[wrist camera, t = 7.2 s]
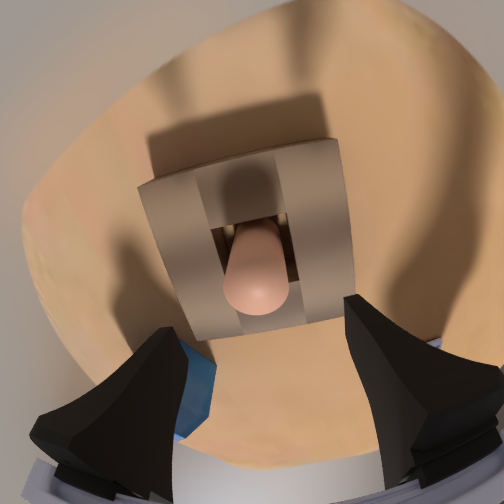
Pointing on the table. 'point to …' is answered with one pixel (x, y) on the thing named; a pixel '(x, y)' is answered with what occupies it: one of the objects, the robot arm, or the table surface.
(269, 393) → the table surface
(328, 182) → the socket
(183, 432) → the perfume bottle
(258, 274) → the peg
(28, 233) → the table surface
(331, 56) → the table surface
